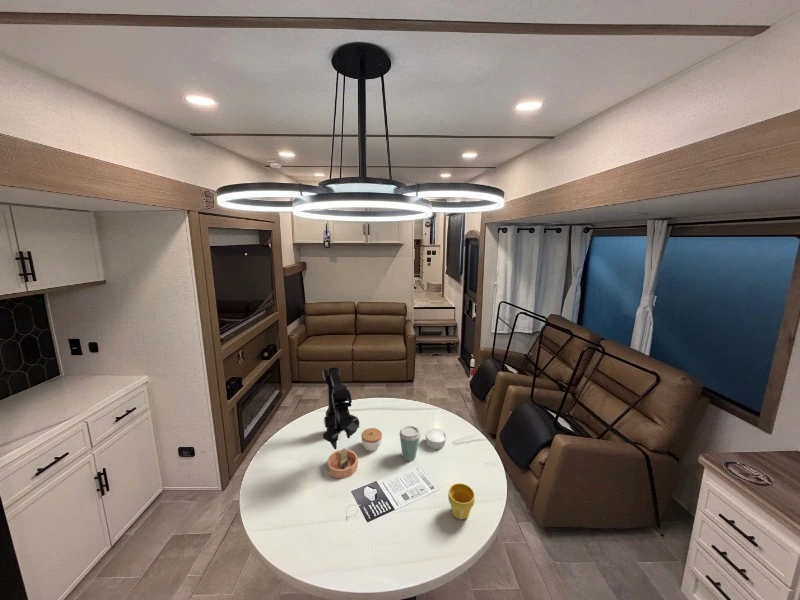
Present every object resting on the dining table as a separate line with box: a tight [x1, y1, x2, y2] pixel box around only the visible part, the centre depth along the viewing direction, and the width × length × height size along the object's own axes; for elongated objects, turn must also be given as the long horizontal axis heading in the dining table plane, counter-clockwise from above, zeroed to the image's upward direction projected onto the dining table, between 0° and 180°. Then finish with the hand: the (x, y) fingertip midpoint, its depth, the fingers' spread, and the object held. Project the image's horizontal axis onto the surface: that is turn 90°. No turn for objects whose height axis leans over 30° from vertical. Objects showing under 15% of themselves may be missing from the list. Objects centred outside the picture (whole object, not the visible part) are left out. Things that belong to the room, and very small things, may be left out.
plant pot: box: [447, 482, 476, 520], centre depth 128 cm, size 10×10×10 cm
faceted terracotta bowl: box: [326, 449, 359, 479], centre depth 152 cm, size 14×14×4 cm
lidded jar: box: [360, 427, 383, 452], centre depth 165 cm, size 11×11×9 cm
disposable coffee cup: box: [399, 425, 422, 462], centre depth 159 cm, size 11×11×15 cm
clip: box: [337, 460, 348, 469], centre depth 152 cm, size 4×3×3 cm
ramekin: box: [424, 428, 448, 450], centre depth 169 cm, size 11×11×5 cm
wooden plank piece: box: [338, 447, 348, 469], centre depth 151 cm, size 2×4×8 cm, turn 148°
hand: (341, 443), depth 150 cm, fingers open, 9 cm apart
